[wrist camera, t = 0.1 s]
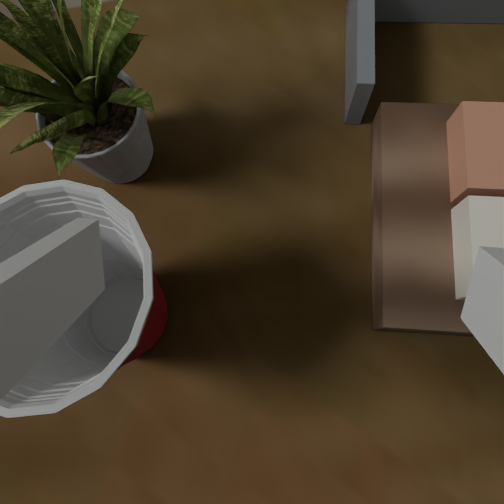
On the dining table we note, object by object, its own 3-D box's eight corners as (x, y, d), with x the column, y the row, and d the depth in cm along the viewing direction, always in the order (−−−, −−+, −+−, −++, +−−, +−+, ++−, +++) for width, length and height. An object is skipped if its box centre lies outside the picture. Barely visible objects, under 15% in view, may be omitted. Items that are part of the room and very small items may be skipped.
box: (598, 132, 31) (658, 91, 26) (344, 123, 32) (356, 83, 28) (580, 12, 34) (631, -45, 29) (346, 9, 35) (357, -46, 30)
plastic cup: (105, 218, 32) (6, 138, 20) (227, 282, 30) (198, 235, 18) (24, 346, 29) (-139, 341, 18) (151, 422, 28) (63, 471, 16)
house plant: (122, 36, 36) (2, -218, 20) (248, 119, 33) (225, -97, 17) (6, 157, 33) (-236, -22, 17) (131, 257, 31) (-20, 152, 15)
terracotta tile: (544, 206, 27) (570, 192, 24) (450, 202, 27) (467, 187, 25) (535, 125, 28) (559, 103, 26) (446, 122, 29) (462, 101, 26)
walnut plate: (598, 344, 27) (637, 343, 25) (372, 330, 28) (383, 327, 26) (569, 131, 31) (600, 108, 28) (371, 124, 32) (381, 101, 29)
